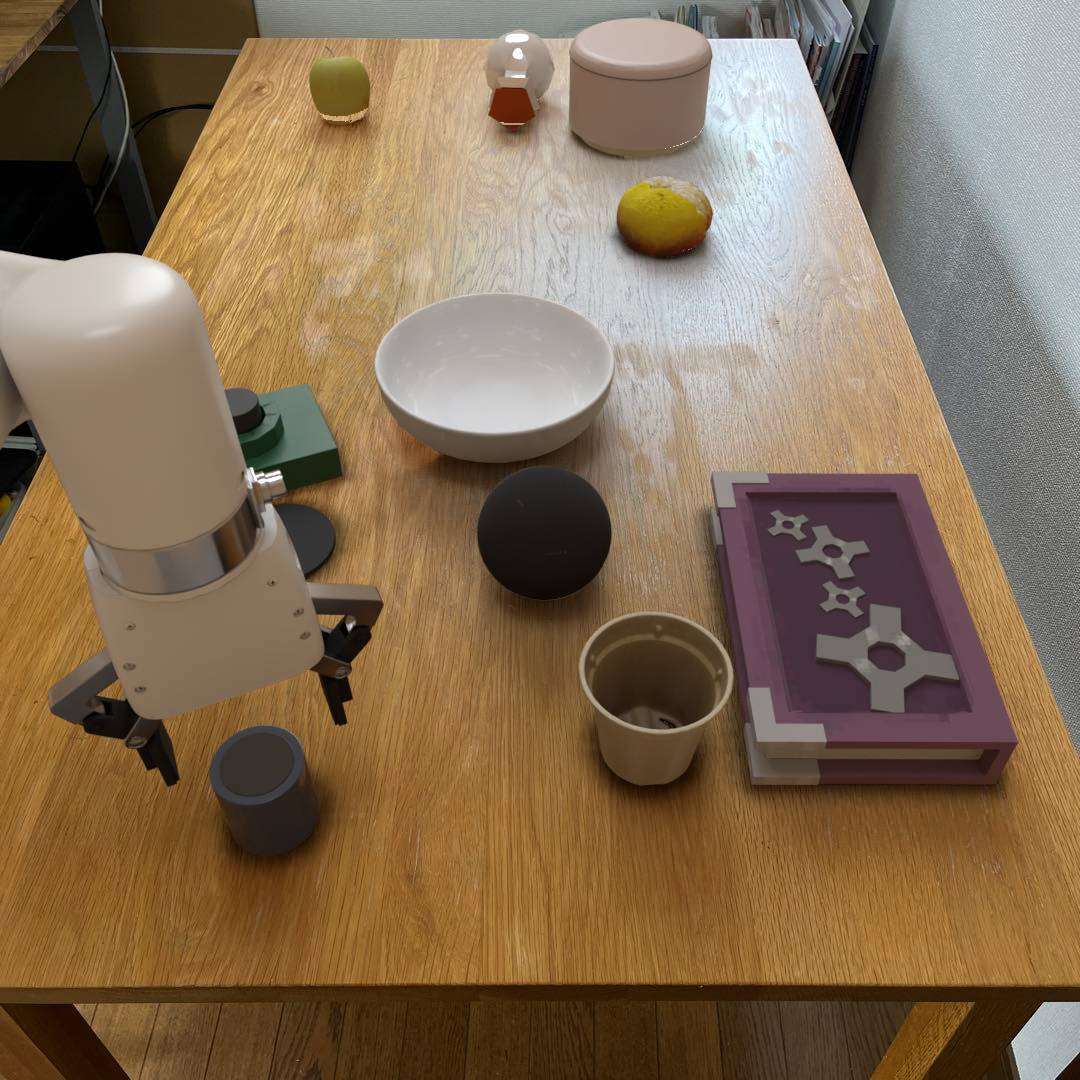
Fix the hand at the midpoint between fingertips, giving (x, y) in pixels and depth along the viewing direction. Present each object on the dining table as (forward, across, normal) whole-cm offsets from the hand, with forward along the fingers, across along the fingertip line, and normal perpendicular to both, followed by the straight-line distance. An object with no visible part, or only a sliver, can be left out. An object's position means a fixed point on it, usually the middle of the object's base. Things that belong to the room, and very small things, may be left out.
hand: (254, 735), depth 60 cm
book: (+10, -41, +2) cm, 42 cm away
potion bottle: (+9, -56, -94) cm, 110 cm away
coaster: (+9, -6, -24) cm, 26 cm away
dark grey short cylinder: (+4, -6, -35) cm, 36 cm away
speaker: (+9, -24, -12) cm, 28 cm away
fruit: (+10, -57, -56) cm, 80 cm away
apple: (+9, -33, -102) cm, 107 cm away
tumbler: (+9, 0, 0) cm, 9 cm away
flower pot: (+10, -24, +5) cm, 26 cm away
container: (+10, -67, -82) cm, 106 cm away
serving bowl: (+9, -28, -32) cm, 43 cm away
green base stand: (+9, -6, -35) cm, 37 cm away
